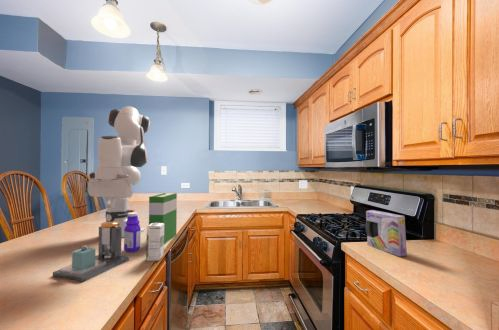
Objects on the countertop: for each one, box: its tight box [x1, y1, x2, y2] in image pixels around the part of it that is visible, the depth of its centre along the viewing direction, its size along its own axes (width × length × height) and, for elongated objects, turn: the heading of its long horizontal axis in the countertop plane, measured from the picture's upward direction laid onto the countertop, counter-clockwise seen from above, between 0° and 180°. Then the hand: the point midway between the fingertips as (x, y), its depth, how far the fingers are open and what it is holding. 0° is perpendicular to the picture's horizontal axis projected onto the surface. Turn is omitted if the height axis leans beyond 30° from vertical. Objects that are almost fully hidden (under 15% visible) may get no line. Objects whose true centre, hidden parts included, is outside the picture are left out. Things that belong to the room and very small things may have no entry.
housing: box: [71, 245, 96, 269], centre depth 87 cm, size 5×5×7 cm
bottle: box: [123, 211, 142, 253], centre depth 110 cm, size 7×6×17 cm
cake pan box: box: [365, 209, 408, 257], centre depth 111 cm, size 19×5×18 cm, turn 18°
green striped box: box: [148, 192, 178, 245], centre depth 127 cm, size 18×7×24 cm, turn 176°
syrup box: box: [145, 223, 165, 262], centre depth 100 cm, size 6×6×14 cm
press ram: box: [100, 221, 119, 254], centre depth 97 cm, size 6×6×12 cm
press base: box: [52, 225, 130, 283], centre depth 90 cm, size 20×14×14 cm
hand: (110, 207), depth 97 cm, fingers closed
